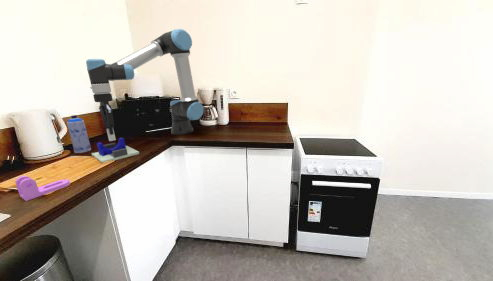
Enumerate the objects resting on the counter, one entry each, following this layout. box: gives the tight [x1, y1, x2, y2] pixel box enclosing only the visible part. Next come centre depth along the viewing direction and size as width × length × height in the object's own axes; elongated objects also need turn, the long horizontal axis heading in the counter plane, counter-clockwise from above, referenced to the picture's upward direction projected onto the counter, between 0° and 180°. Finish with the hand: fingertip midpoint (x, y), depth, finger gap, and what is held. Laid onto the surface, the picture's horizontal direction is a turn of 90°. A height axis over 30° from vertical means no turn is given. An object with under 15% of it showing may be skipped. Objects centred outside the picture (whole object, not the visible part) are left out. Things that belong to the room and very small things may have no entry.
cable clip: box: [96, 137, 127, 156], centre depth 113 cm, size 12×4×6 cm, turn 144°
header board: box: [91, 142, 140, 163], centre depth 112 cm, size 17×18×4 cm
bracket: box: [14, 175, 71, 202], centre depth 77 cm, size 13×6×7 cm, turn 149°
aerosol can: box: [66, 114, 92, 154], centre depth 120 cm, size 8×8×20 cm
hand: (112, 140), depth 111 cm, fingers closed
